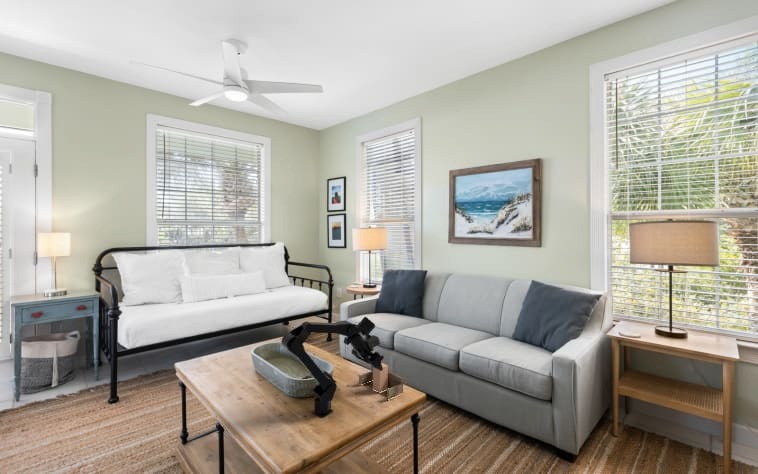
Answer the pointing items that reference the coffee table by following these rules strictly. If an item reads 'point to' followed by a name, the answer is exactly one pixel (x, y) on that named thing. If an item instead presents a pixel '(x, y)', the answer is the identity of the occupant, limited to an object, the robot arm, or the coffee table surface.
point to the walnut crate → (393, 383)
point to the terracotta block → (380, 378)
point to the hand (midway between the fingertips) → (376, 366)
